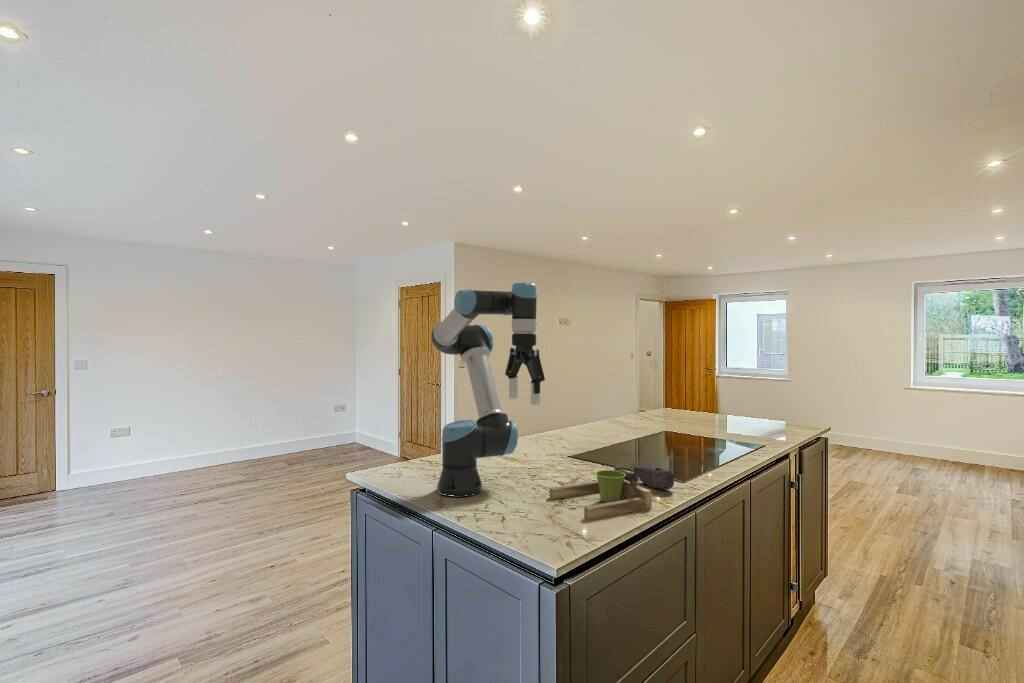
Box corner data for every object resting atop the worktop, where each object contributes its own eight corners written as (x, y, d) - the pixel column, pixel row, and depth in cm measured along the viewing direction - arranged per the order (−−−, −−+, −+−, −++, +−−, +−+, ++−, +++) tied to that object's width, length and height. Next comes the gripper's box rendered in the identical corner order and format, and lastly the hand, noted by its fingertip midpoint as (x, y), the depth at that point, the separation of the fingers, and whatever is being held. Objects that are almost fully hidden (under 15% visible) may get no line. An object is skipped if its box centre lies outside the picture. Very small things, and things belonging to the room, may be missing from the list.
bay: (550, 497, 158) (549, 462, 158) (608, 487, 168) (608, 454, 168) (588, 519, 138) (588, 479, 138) (652, 507, 148) (652, 469, 148)
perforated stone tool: (633, 482, 174) (633, 462, 174) (644, 480, 177) (644, 461, 177) (663, 494, 161) (663, 473, 161) (675, 491, 164) (675, 471, 164)
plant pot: (607, 494, 161) (606, 468, 161) (631, 501, 154) (631, 473, 154) (589, 500, 155) (589, 473, 155) (614, 508, 148) (614, 479, 148)
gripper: (556, 333, 141) (556, 406, 142) (515, 332, 163) (515, 395, 164) (534, 333, 138) (534, 408, 138) (495, 332, 160) (495, 397, 160)
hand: (523, 401), depth 151 cm, fingers open, 13 cm apart
